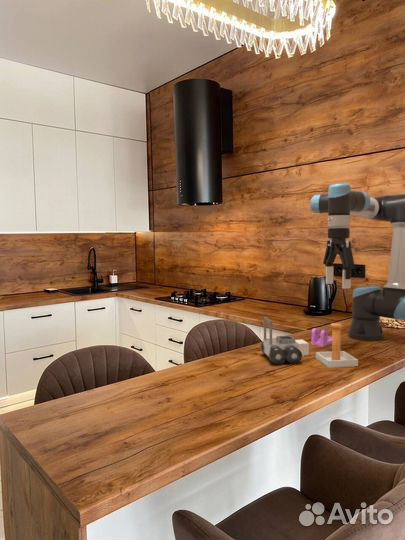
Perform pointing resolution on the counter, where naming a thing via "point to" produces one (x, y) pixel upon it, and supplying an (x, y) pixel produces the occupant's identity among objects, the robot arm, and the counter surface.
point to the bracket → (322, 340)
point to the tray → (344, 360)
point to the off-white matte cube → (303, 347)
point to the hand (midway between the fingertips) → (337, 285)
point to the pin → (336, 340)
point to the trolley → (280, 347)
